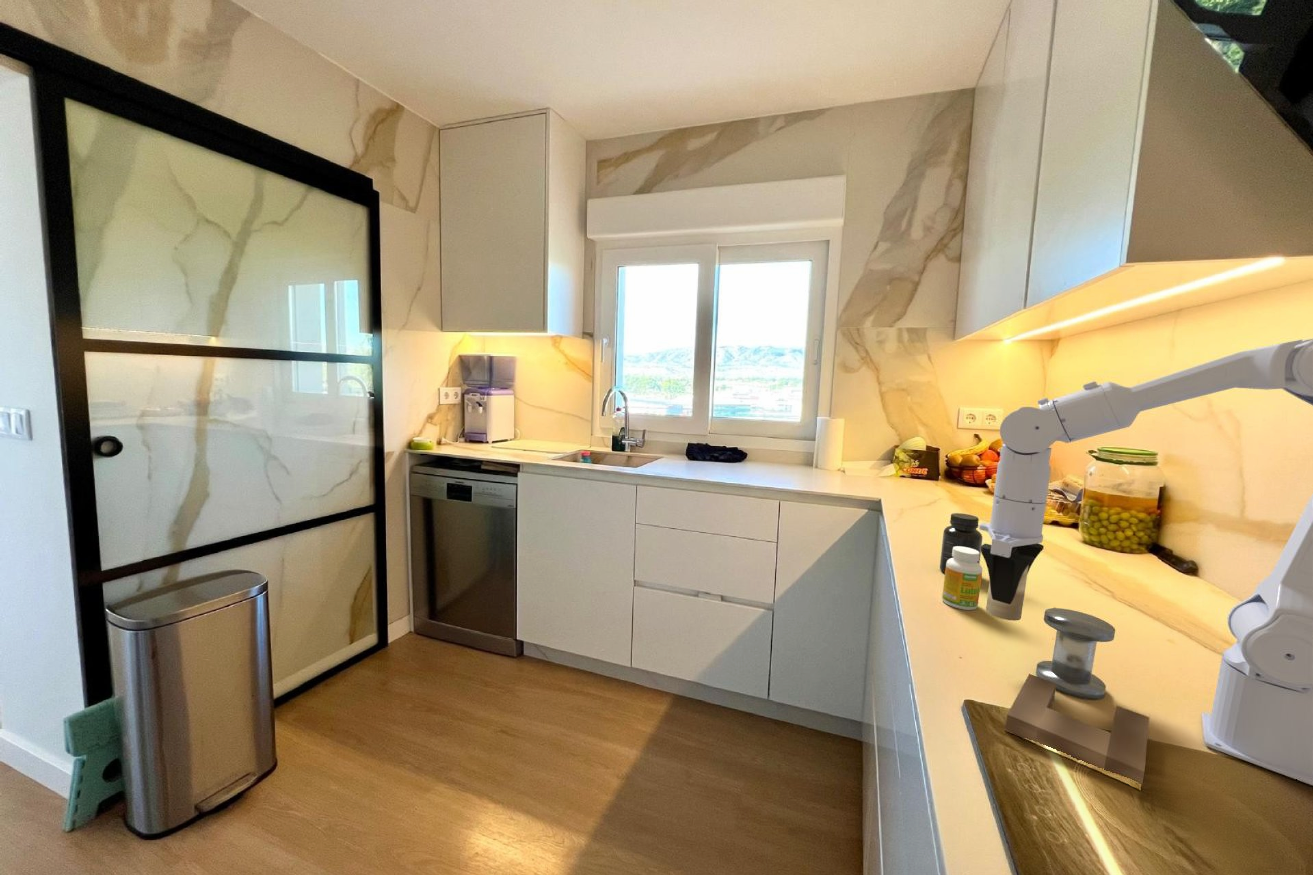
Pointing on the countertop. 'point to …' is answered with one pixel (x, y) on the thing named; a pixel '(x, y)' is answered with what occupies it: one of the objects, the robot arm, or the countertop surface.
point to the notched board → (1080, 731)
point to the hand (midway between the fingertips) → (1005, 596)
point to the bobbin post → (1075, 652)
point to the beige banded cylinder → (1008, 610)
